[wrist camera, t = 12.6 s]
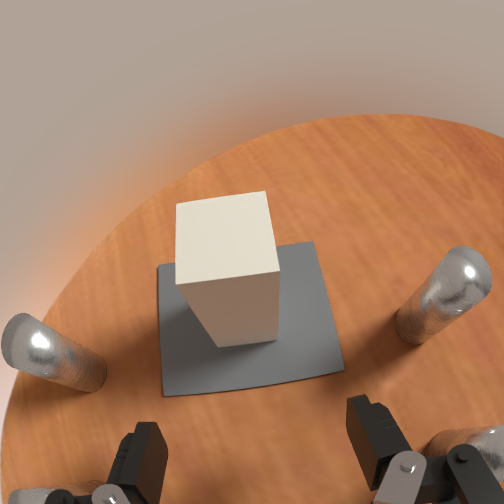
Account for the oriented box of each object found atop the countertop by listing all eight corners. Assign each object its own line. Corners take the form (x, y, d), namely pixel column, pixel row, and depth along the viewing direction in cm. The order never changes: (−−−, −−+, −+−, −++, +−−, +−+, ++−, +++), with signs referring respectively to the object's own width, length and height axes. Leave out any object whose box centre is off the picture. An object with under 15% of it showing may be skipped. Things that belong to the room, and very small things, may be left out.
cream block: (269, 285, 23) (265, 190, 14) (277, 340, 21) (280, 270, 12) (213, 293, 23) (176, 203, 14) (217, 347, 21) (175, 284, 12)
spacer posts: (426, 298, 21) (477, 241, 14) (465, 461, 15) (537, 463, 8) (72, 352, 21) (4, 314, 14) (85, 515, 14) (14, 533, 7)
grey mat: (312, 242, 24) (312, 240, 24) (344, 370, 19) (345, 369, 19) (159, 266, 24) (158, 265, 24) (164, 396, 19) (163, 396, 19)
